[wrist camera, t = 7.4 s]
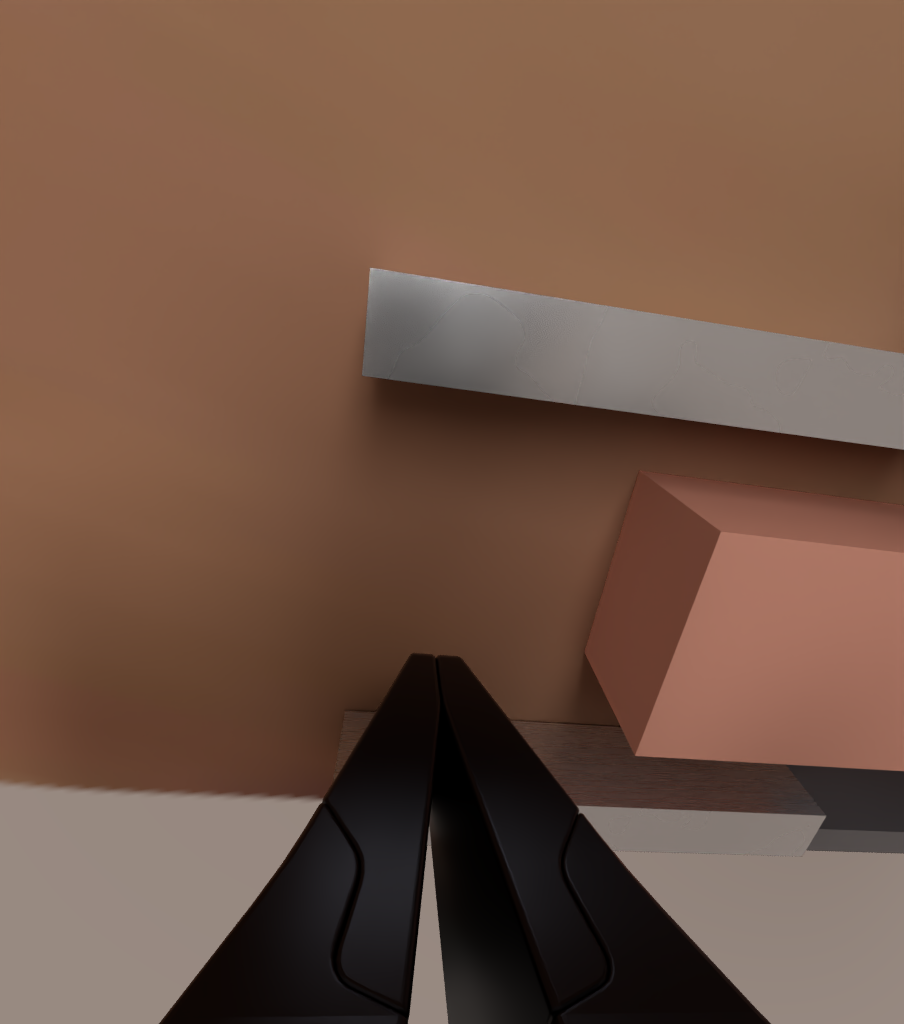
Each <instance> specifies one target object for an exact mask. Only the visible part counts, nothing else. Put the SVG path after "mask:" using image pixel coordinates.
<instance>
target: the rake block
mask: <svg viewBox="0 0 904 1024" xmlns="http://www.w3.org/2000/svg"><path fill="white" fill-rule="evenodd" d="M584 653H585V655H586V657H587V659H588V661H589V663H590V665H591V667H592V669H593V671H594V673H595V675H596V677H597V679H598V681H599V683H600V685H601V687H602V689H603V691H604V693H605V696H606V698H607V700H608V702H609V704H610V706H611V708H612V710H613V712H614V714H615V716H616V718H617V720H618V722H619V724H620V726H621V728H622V730H623V732H624V734H625V736H626V739H627V741H628V743H629V745H630V747H631V749H632V751H633V753H634V755H635V756H645V757H663V758H680V759H698V760H716V761H734V762H751V763H769V764H787V765H804V766H822V767H840V768H857V769H875V770H893V771H904V505H899V504H891V503H884V502H876V501H868V500H861V499H853V498H845V497H838V496H830V495H822V494H815V493H807V492H799V491H792V490H784V489H777V488H769V487H761V486H754V485H746V484H738V483H731V482H723V481H715V480H708V479H700V478H693V477H685V476H677V475H670V474H662V473H654V472H647V471H639V473H638V476H637V479H636V483H635V486H634V489H633V493H632V496H631V499H630V503H629V506H628V509H627V513H626V516H625V519H624V522H623V526H622V529H621V532H620V536H619V539H618V542H617V546H616V549H615V552H614V556H613V559H612V562H611V565H610V569H609V572H608V575H607V579H606V582H605V585H604V589H603V592H602V595H601V599H600V602H599V605H598V608H597V612H596V615H595V618H594V622H593V625H592V628H591V632H590V635H589V638H588V642H587V645H586V648H585V651H584Z"/></svg>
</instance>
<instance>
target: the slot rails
mask: <svg viewBox="0 0 904 1024" xmlns="http://www.w3.org/2000/svg"><path fill="white" fill-rule="evenodd" d="M362 376H368V377H375V378H383V379H390V380H397V381H405V382H412V383H419V384H427V385H434V386H441V387H449V388H456V389H463V390H471V391H478V392H485V393H493V394H500V395H507V396H515V397H522V398H529V399H537V400H544V401H551V402H559V403H566V404H573V405H581V406H588V407H595V408H603V409H610V410H617V411H624V412H632V413H639V414H646V415H654V416H661V417H668V418H676V419H683V420H690V421H698V422H705V423H712V424H720V425H727V426H734V427H742V428H749V429H756V430H764V431H771V432H778V433H786V434H793V435H800V436H808V437H815V438H822V439H830V440H837V441H844V442H852V443H859V444H866V445H874V446H881V447H888V448H896V449H903V450H904V354H902V353H896V352H889V351H883V350H877V349H871V348H865V347H858V346H852V345H846V344H840V343H834V342H827V341H821V340H815V339H809V338H803V337H796V336H790V335H784V334H778V333H772V332H765V331H759V330H753V329H747V328H741V327H734V326H728V325H722V324H716V323H710V322H703V321H697V320H691V319H685V318H679V317H672V316H666V315H660V314H654V313H648V312H641V311H635V310H629V309H623V308H617V307H610V306H604V305H598V304H592V303H586V302H580V301H573V300H567V299H561V298H555V297H549V296H542V295H536V294H530V293H524V292H518V291H511V290H505V289H499V288H493V287H487V286H480V285H474V284H468V283H462V282H456V281H449V280H443V279H437V278H431V277H425V276H418V275H412V274H406V273H400V272H394V271H387V270H381V269H375V268H370V278H369V292H368V305H367V318H366V331H365V345H364V358H363V371H362ZM374 714H375V712H362V711H345V714H344V720H343V726H342V731H341V737H340V743H339V749H338V755H337V761H336V766H335V772H334V778H333V782H334V780H335V779H336V777H337V775H338V774H339V772H340V770H341V769H342V767H343V765H344V764H345V762H346V760H347V759H348V757H349V755H350V754H351V752H352V750H353V749H354V747H355V745H356V744H357V742H358V740H359V739H360V737H361V735H362V734H363V732H364V730H365V729H366V727H367V726H368V724H369V722H370V721H371V719H372V717H373V716H374ZM510 721H511V720H510ZM511 722H512V723H513V725H514V726H515V727H516V729H517V730H518V731H519V732H520V734H521V735H522V736H523V738H524V739H525V740H526V741H527V743H528V744H529V745H530V747H531V748H532V749H533V750H534V752H535V753H536V754H537V756H538V757H539V758H540V759H541V761H542V762H543V763H544V764H545V766H546V767H547V768H548V770H549V771H550V772H551V773H552V775H553V776H554V777H555V779H556V780H557V781H558V782H559V784H560V785H561V786H562V788H563V789H564V790H565V791H566V793H567V794H568V795H569V797H570V798H571V799H572V800H573V802H574V803H575V804H576V805H577V807H578V808H579V813H583V814H584V815H585V817H586V818H587V819H588V821H589V822H590V823H591V824H592V826H593V827H594V828H595V829H596V831H597V832H598V833H599V835H600V836H601V837H602V838H603V840H604V841H605V842H606V843H607V844H608V846H609V847H610V848H611V849H612V850H613V851H635V852H669V853H701V854H734V855H736V854H737V855H767V856H800V857H802V856H803V854H804V853H805V851H806V849H807V848H808V846H809V844H810V843H811V841H812V839H813V838H814V836H815V834H816V833H817V831H818V829H819V828H820V826H821V824H822V823H823V821H824V819H825V818H826V815H825V813H824V812H823V811H822V810H821V808H820V807H819V806H818V805H817V803H816V802H815V801H814V800H813V798H812V797H811V796H810V795H809V793H808V792H807V791H806V790H805V788H804V787H803V786H802V785H801V783H800V782H799V781H798V780H797V778H796V777H795V776H794V775H793V773H792V772H791V771H790V770H789V768H788V767H787V766H786V765H785V764H769V763H751V762H734V761H716V760H698V759H680V758H663V757H645V756H635V755H634V753H633V751H632V749H631V747H630V745H629V743H628V741H627V739H626V736H625V734H624V732H623V730H622V728H621V727H611V726H595V725H578V724H561V723H545V722H528V721H511ZM427 845H431V837H430V827H429V833H428V842H427Z"/></svg>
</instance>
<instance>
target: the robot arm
mask: <svg viewBox="0 0 904 1024" xmlns="http://www.w3.org/2000/svg"><path fill="white" fill-rule="evenodd" d="M429 827H430V837H431V846H432V858H433V868H434V878H435V888H436V899H437V909H438V920H439V930H440V939H441V950H442V961H443V971H444V982H445V992H446V1003H447V1013H448V1023H449V1024H771V1023H770V1022H769V1021H768V1020H767V1019H766V1018H765V1017H764V1016H763V1015H762V1014H761V1013H760V1012H759V1011H758V1010H757V1009H756V1008H755V1007H754V1006H753V1005H752V1004H751V1003H750V1002H749V1000H747V998H746V997H745V996H744V995H743V994H742V993H741V992H740V991H739V990H738V989H737V988H736V987H735V986H734V984H733V983H732V982H731V981H730V980H729V979H728V978H727V977H726V976H725V975H724V974H723V973H722V971H721V970H720V969H719V968H718V967H717V966H716V965H715V964H714V963H713V962H712V961H711V960H710V959H709V958H708V956H707V955H706V954H705V953H704V952H703V951H702V950H701V949H700V948H699V947H698V946H697V945H696V944H695V942H694V941H693V940H692V939H691V938H690V937H689V936H688V935H687V934H686V933H685V932H684V931H683V930H682V929H681V927H680V926H679V925H678V924H677V923H676V922H675V921H674V920H673V919H672V918H671V917H670V916H669V915H668V914H667V912H666V911H665V910H664V909H663V908H662V907H661V906H660V905H659V904H658V903H657V902H656V900H655V899H654V898H653V897H652V896H651V895H650V893H649V892H648V891H647V890H646V889H645V888H644V887H643V886H642V885H641V883H639V881H638V880H637V879H636V878H635V877H634V876H633V875H632V873H631V872H630V871H629V870H628V869H627V868H626V866H625V865H624V864H623V863H622V861H621V860H620V859H619V858H618V857H617V855H616V854H615V853H614V852H613V850H612V849H611V848H610V847H609V846H608V844H607V843H606V842H605V841H604V840H603V838H602V837H601V836H600V835H599V833H598V832H597V831H596V829H595V828H594V827H593V826H592V824H591V823H590V822H589V821H588V819H587V818H586V817H585V815H584V814H583V813H579V808H578V807H577V805H576V804H575V803H574V802H573V800H572V799H571V798H570V797H569V795H568V794H567V793H566V791H565V790H564V789H563V788H562V786H561V785H560V784H559V782H558V781H557V780H556V779H555V777H554V776H553V775H552V773H551V772H550V771H549V770H548V768H547V767H546V766H545V764H544V763H543V762H542V761H541V759H540V758H539V757H538V756H537V754H536V753H535V752H534V750H533V749H532V748H531V747H530V745H529V744H528V743H527V741H526V740H525V739H524V738H523V736H522V735H521V734H520V732H519V731H518V730H517V729H516V727H515V726H514V725H513V723H512V722H511V721H510V720H509V718H508V717H507V716H506V714H505V713H504V712H503V711H502V709H501V708H500V707H499V706H498V704H497V703H496V702H495V700H494V699H493V698H492V697H491V695H490V694H489V693H488V691H487V690H486V689H485V688H484V686H483V685H482V684H481V682H480V681H479V680H478V679H477V677H476V676H475V675H474V673H473V672H472V671H471V670H470V668H469V667H468V666H467V665H466V663H465V662H464V661H463V659H462V658H460V657H458V656H447V655H438V656H437V657H436V658H435V656H434V655H432V654H420V653H413V654H411V655H410V656H409V658H408V659H407V661H406V663H405V664H404V666H403V667H402V669H401V671H400V672H399V674H398V676H397V677H396V679H395V681H394V682H393V684H392V686H391V687H390V689H389V691H388V692H387V694H386V696H385V697H384V699H383V701H382V702H381V704H380V706H379V707H378V709H377V711H376V712H375V714H374V716H373V717H372V719H371V721H370V722H369V724H368V726H367V727H366V729H365V730H364V732H363V734H362V735H361V737H360V739H359V740H358V742H357V744H356V745H355V747H354V749H353V750H352V752H351V754H350V755H349V757H348V759H347V760H346V762H345V764H344V765H343V767H342V769H341V770H340V772H339V774H338V775H337V777H336V779H335V780H334V782H333V784H332V785H331V787H330V788H329V790H328V792H327V793H326V795H325V797H324V798H323V802H322V803H321V804H320V805H319V806H318V808H317V810H316V811H315V813H314V814H313V816H312V818H311V819H310V821H309V823H308V824H307V826H306V828H305V829H304V831H303V832H302V834H301V835H300V837H299V838H298V840H297V842H296V843H295V845H294V846H293V848H292V849H291V851H290V852H289V854H288V855H287V857H286V859H285V860H284V861H283V863H282V864H281V866H280V867H279V868H278V870H277V871H276V873H275V874H274V875H273V877H272V878H271V879H270V881H269V882H268V883H267V885H266V886H265V887H264V889H263V890H262V892H261V893H260V894H259V896H258V897H257V898H256V900H255V901H254V902H253V904H252V905H251V907H250V908H249V909H248V910H247V912H246V913H245V915H243V917H242V918H241V919H240V921H239V922H238V923H237V924H236V926H235V927H234V928H233V930H232V931H231V932H230V933H229V935H228V936H227V937H226V938H225V940H224V941H223V942H222V944H221V945H220V946H219V948H218V949H217V950H216V951H215V953H214V954H213V955H212V956H211V958H210V959H209V960H208V962H207V963H206V964H205V965H204V967H203V968H202V969H201V971H200V972H199V973H198V974H197V976H196V977H195V978H194V980H193V981H192V982H191V983H190V985H189V986H188V987H187V989H186V990H185V991H184V992H183V994H182V995H181V996H180V998H179V999H178V1000H177V1001H176V1003H175V1004H174V1005H173V1007H172V1008H171V1009H170V1011H169V1012H168V1013H167V1014H166V1016H165V1017H164V1018H163V1019H162V1021H161V1022H160V1023H159V1024H408V1018H409V1013H410V1003H411V994H412V984H413V975H414V965H415V956H416V947H417V937H418V927H419V918H420V908H421V899H422V889H423V880H424V870H425V861H426V851H427V842H428V833H429Z"/></svg>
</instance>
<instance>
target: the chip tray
mask: <svg viewBox="0 0 904 1024" xmlns="http://www.w3.org/2000/svg"><path fill="white" fill-rule="evenodd" d="M785 765H786V766H787V767H788V768H789V770H790V771H791V772H792V773H793V775H794V776H795V777H796V778H797V780H798V781H799V782H800V783H801V785H802V786H803V787H804V788H805V790H806V791H807V792H808V793H809V795H810V796H811V797H812V798H813V800H814V801H815V802H816V803H817V805H818V806H819V807H820V808H821V810H822V811H823V812H824V813H825V815H826V818H825V819H824V821H823V823H822V824H821V826H820V828H819V829H818V831H817V833H816V834H815V836H814V838H813V839H812V841H811V843H810V844H809V846H808V848H807V849H806V850H812V851H813V850H814V851H844V852H877V853H904V771H893V770H875V769H857V768H840V767H822V766H804V765H787V764H785Z"/></svg>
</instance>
